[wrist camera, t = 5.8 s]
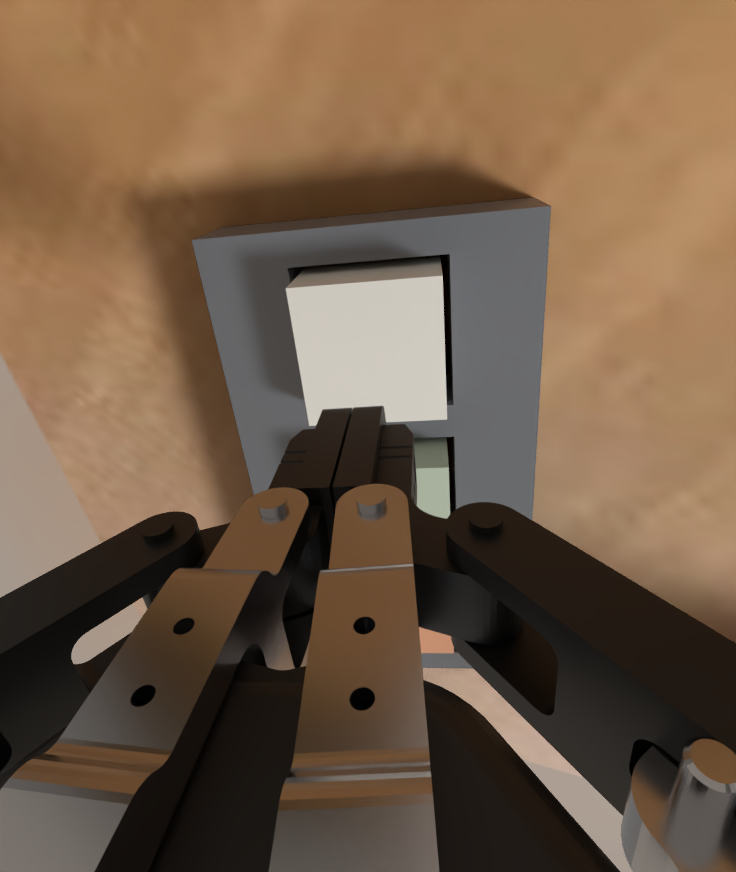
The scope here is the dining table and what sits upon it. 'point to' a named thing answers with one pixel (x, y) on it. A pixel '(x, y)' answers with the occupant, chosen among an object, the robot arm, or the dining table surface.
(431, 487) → the sage button
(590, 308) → the dining table surface
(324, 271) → the offwhite button
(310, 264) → the button panel
